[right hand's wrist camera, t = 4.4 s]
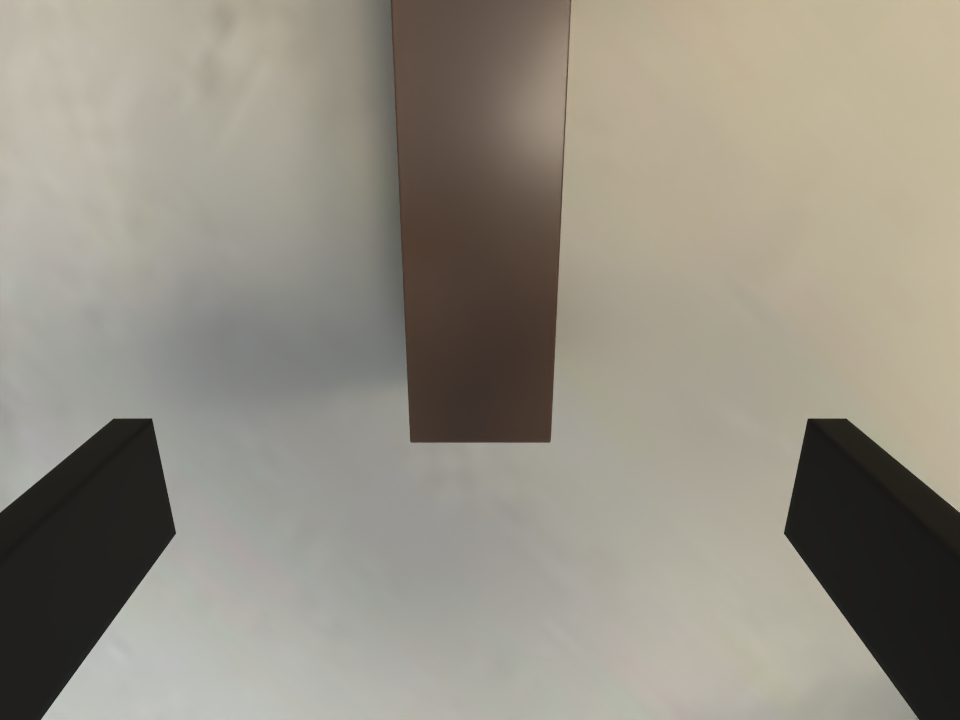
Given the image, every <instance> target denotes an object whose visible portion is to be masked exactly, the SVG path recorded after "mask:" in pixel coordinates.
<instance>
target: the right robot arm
mask: <svg viewBox="0 0 960 720" xmlns="http://www.w3.org/2000/svg"><path fill="white" fill-rule="evenodd" d="M175 534H176V531H175V526H174V522H173V517H172V512H171V507H170V502H169V498H168V493H167V488H166V483H165V478H164V474H163V469H162V464H161V459H160V454H159V450H158V445H157V440H156V435H155V431H154V426H153V421H152V419H113V420H112V421H110V422H109V423H108V424H107V425H106V426H104V427H103V428H102V429H101V430H99V431H98V432H97V433H96V434H95V435H93V436H92V437H91V438H90V439H89V440H87V441H86V442H85V443H84V444H83V445H81V446H80V447H79V448H78V449H77V450H75V451H74V452H73V453H72V454H71V455H69V456H68V457H67V458H66V459H65V460H63V461H62V462H61V463H60V464H59V465H57V466H56V467H55V468H54V469H52V470H51V471H50V472H49V473H48V474H46V475H45V476H44V477H43V478H42V479H40V480H39V481H38V482H37V483H36V484H34V485H33V486H32V487H31V488H30V489H28V490H27V491H26V492H25V493H24V494H22V495H21V496H20V497H19V498H18V499H16V500H15V501H14V502H13V503H11V504H10V505H9V506H8V507H7V508H5V509H4V510H3V511H2V512H1V513H0V720H41V719H42V717H43V716H44V714H45V713H46V712H47V710H48V709H49V708H50V706H51V705H52V703H53V702H54V701H55V699H56V698H57V697H58V695H59V694H60V692H61V691H62V690H63V688H64V687H65V686H66V684H67V683H68V681H69V680H70V679H71V677H72V676H73V675H74V673H75V672H76V670H77V669H78V668H79V666H80V665H81V664H82V662H83V661H84V659H85V658H86V657H87V655H88V654H89V653H90V651H91V650H92V648H93V647H94V646H95V644H96V643H97V642H98V640H99V639H100V637H101V636H102V635H103V633H104V632H105V631H106V629H107V628H108V626H109V625H110V624H111V622H112V621H113V619H114V618H115V617H116V615H117V614H118V613H119V611H120V610H121V608H122V607H123V606H124V604H125V603H126V602H127V600H128V599H129V597H130V596H131V595H132V593H133V592H134V591H135V589H136V588H137V586H138V585H139V584H140V582H141V581H142V580H143V578H144V577H145V575H146V574H147V573H148V571H149V570H150V569H151V567H152V566H153V564H154V563H155V562H156V560H157V559H158V558H159V556H160V555H161V553H162V552H163V551H164V549H165V548H166V547H167V545H168V544H169V542H170V541H171V540H172V538H173V537H174V536H175ZM784 534H785V536H786V537H787V538H788V540H789V541H790V542H791V544H792V545H793V547H794V548H795V549H796V551H797V552H798V553H799V555H800V556H801V558H802V559H803V560H804V562H805V563H806V564H807V566H808V567H809V569H810V570H811V571H812V573H813V574H814V575H815V577H816V578H817V580H818V581H819V582H820V584H821V585H822V586H823V588H824V589H825V591H826V592H827V593H828V595H829V596H830V597H831V599H832V600H833V602H834V603H835V604H836V606H837V607H838V608H839V610H840V611H841V613H842V614H843V615H844V617H845V618H846V619H847V621H848V622H849V624H850V625H851V626H852V628H853V629H854V631H855V632H856V633H857V635H858V636H859V637H860V639H861V640H862V642H863V643H864V644H865V646H866V647H867V648H868V650H869V651H870V653H871V654H872V655H873V657H874V658H875V659H876V661H877V662H878V664H879V665H880V666H881V668H882V669H883V670H884V672H885V673H886V675H887V676H888V677H889V679H890V680H891V681H892V683H893V684H894V686H895V687H896V688H897V690H898V691H899V692H900V694H901V695H902V697H903V698H904V699H905V701H906V702H907V703H908V705H909V706H910V708H911V709H912V710H913V712H914V713H915V714H916V716H917V717H918V719H919V720H960V513H959V512H958V511H957V510H956V509H955V508H953V507H952V506H951V505H950V504H949V503H947V502H946V501H945V500H944V499H942V498H941V497H940V496H939V495H938V494H936V493H935V492H934V491H933V490H932V489H930V488H929V487H928V486H927V485H926V484H924V483H923V482H922V481H921V480H920V479H918V478H917V477H916V476H915V475H914V474H912V473H911V472H910V471H909V470H908V469H906V468H905V467H904V466H903V465H901V464H900V463H899V462H898V461H897V460H895V459H894V458H893V457H892V456H891V455H889V454H888V453H887V452H886V451H885V450H883V449H882V448H881V447H880V446H879V445H877V444H876V443H875V442H874V441H873V440H871V439H870V438H869V437H868V436H867V435H865V434H864V433H863V432H862V431H861V430H859V429H858V428H857V427H856V426H854V425H853V424H852V423H851V422H850V421H848V420H847V419H808V421H807V426H806V431H805V435H804V440H803V445H802V450H801V454H800V459H799V464H798V469H797V474H796V478H795V483H794V488H793V493H792V498H791V502H790V507H789V512H788V517H787V522H786V526H785V531H784Z"/></svg>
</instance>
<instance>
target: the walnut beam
mask: <svg viewBox="0 0 960 720" xmlns="http://www.w3.org/2000/svg"><path fill="white" fill-rule="evenodd" d="M570 13H571V0H391V17H392V40H393V62H394V85H395V107H396V130H397V152H398V175H399V198H400V220H401V243H402V265H403V288H404V310H405V333H406V355H407V378H408V401H409V423H410V441H411V442H412V443H549V442H550V441H551V424H552V402H553V381H554V359H555V337H556V316H557V294H558V272H559V251H560V229H561V208H562V186H563V164H564V143H565V121H566V99H567V78H568V56H569V35H570Z"/></svg>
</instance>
